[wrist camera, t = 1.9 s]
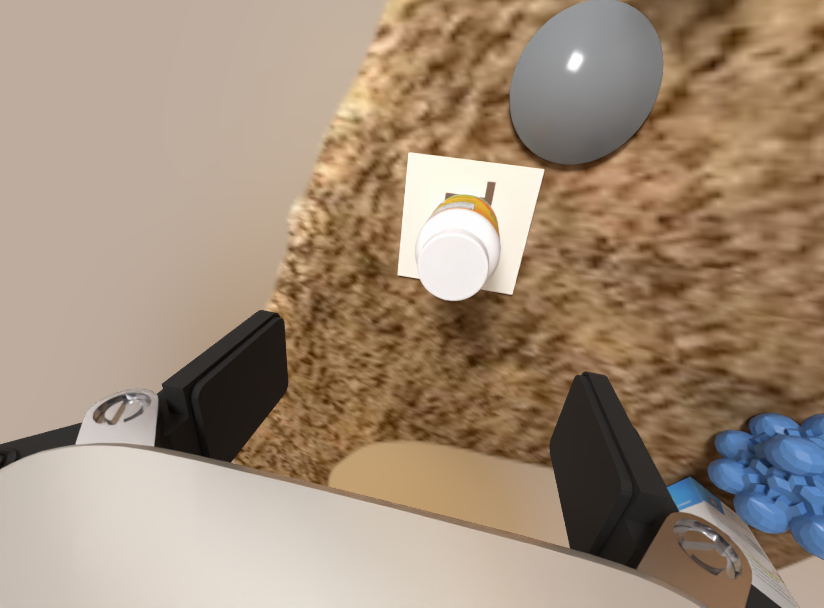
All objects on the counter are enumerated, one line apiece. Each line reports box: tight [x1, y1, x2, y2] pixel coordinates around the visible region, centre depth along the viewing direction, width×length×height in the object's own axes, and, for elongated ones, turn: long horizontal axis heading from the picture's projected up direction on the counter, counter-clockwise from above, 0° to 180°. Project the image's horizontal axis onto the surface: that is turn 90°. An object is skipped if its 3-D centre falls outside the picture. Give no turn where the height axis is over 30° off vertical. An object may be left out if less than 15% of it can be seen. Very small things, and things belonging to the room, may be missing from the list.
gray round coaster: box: [509, 0, 663, 165], centre depth 23 cm, size 9×9×1 cm
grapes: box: [707, 413, 824, 560], centre depth 25 cm, size 12×7×12 cm, turn 135°
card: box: [398, 152, 545, 295], centre depth 28 cm, size 10×10×1 cm
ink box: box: [667, 477, 800, 608], centre depth 31 cm, size 9×5×12 cm, turn 52°
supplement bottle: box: [415, 194, 501, 301], centre depth 24 cm, size 5×5×10 cm
